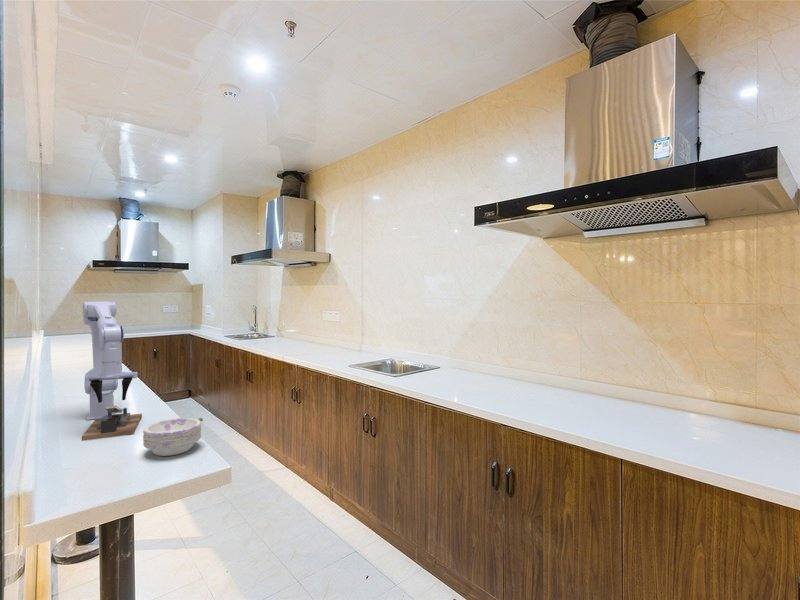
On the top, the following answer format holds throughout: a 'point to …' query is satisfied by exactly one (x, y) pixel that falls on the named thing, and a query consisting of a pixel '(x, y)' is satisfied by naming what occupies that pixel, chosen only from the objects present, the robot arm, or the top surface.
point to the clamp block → (113, 421)
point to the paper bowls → (172, 436)
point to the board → (121, 431)
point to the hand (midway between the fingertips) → (112, 400)
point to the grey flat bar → (114, 409)
